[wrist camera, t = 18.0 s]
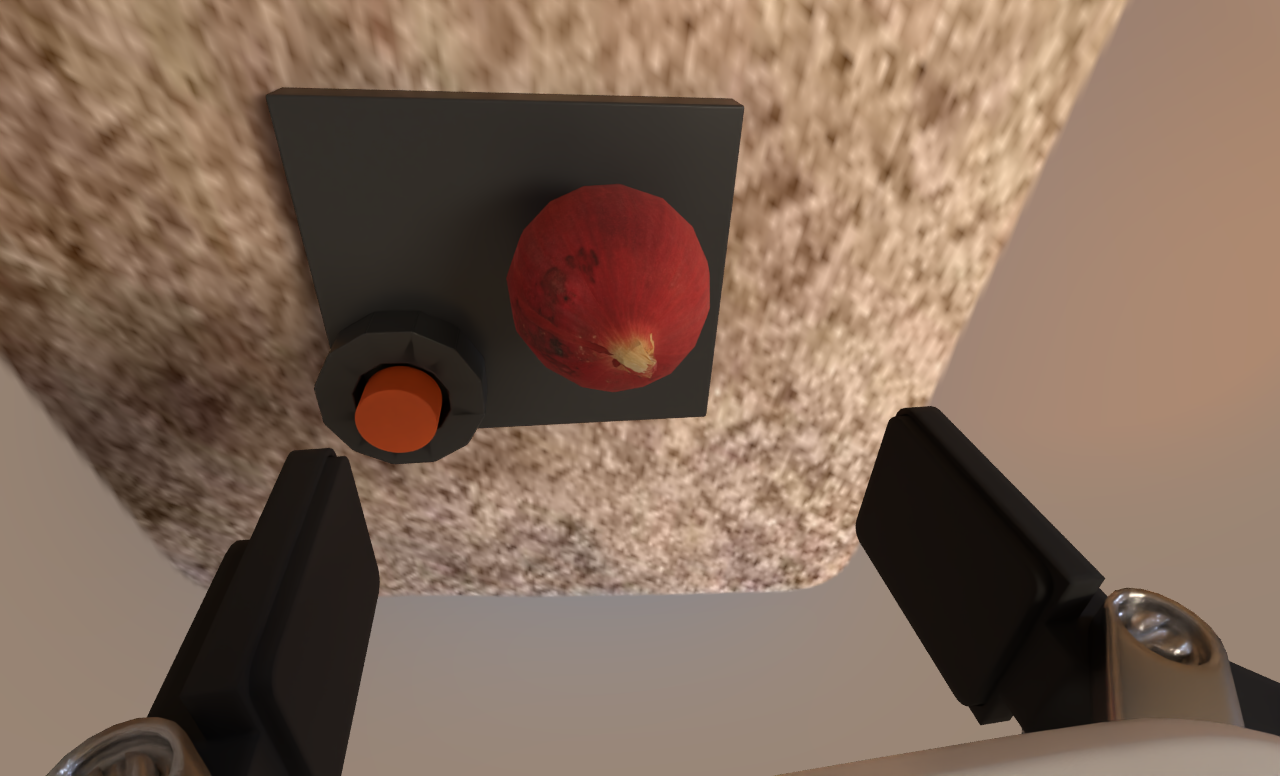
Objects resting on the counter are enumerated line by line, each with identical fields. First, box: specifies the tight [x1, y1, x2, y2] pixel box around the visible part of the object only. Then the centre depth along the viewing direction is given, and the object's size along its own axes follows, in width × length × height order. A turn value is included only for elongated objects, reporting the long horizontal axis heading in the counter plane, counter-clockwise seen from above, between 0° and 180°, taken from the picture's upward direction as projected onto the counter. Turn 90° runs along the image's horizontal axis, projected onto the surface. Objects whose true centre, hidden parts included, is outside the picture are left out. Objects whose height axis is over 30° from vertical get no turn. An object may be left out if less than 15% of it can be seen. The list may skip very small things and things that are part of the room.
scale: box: [266, 88, 744, 464], centre depth 22 cm, size 14×12×3 cm
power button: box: [355, 366, 442, 453], centre depth 21 cm, size 3×3×2 cm
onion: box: [506, 184, 710, 392], centre depth 18 cm, size 6×6×8 cm
